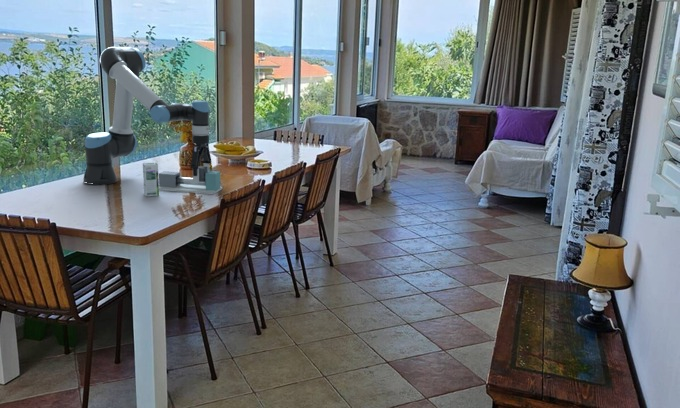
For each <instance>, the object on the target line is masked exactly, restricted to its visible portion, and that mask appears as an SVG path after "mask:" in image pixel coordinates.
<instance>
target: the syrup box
mask: <svg viewBox="0 0 680 408" xmlns="http://www.w3.org/2000/svg"><path fill="white" fill-rule="evenodd" d="M142 178H143V192H144V193H143V194H144V195H145V197H159V196H160V190H159V164H158V162H143V163H142Z"/></svg>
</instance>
